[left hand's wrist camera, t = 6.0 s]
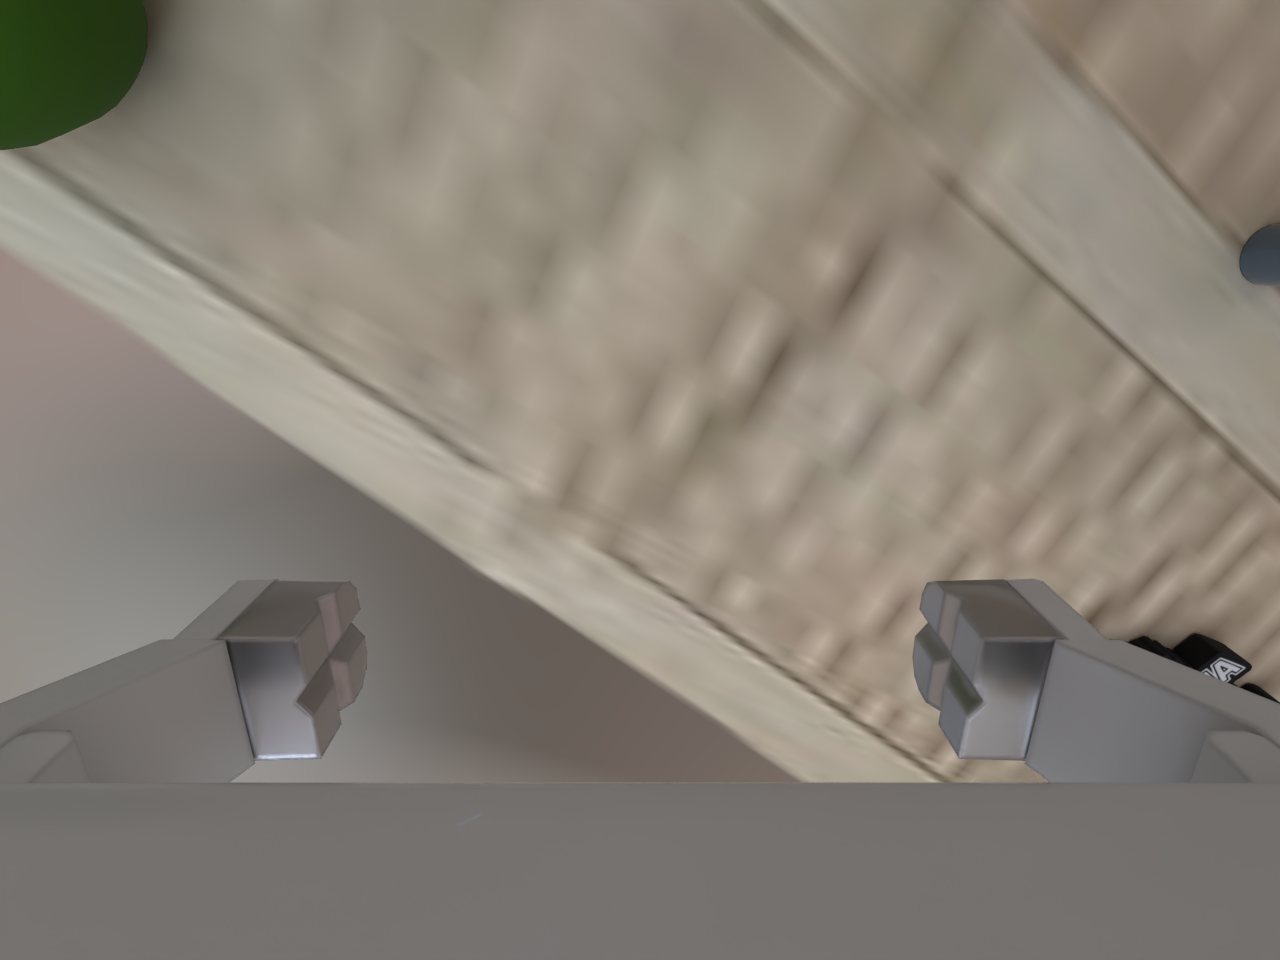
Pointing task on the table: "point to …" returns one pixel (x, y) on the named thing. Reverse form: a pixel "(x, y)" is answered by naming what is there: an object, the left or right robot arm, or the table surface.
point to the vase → (65, 64)
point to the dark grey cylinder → (1262, 257)
